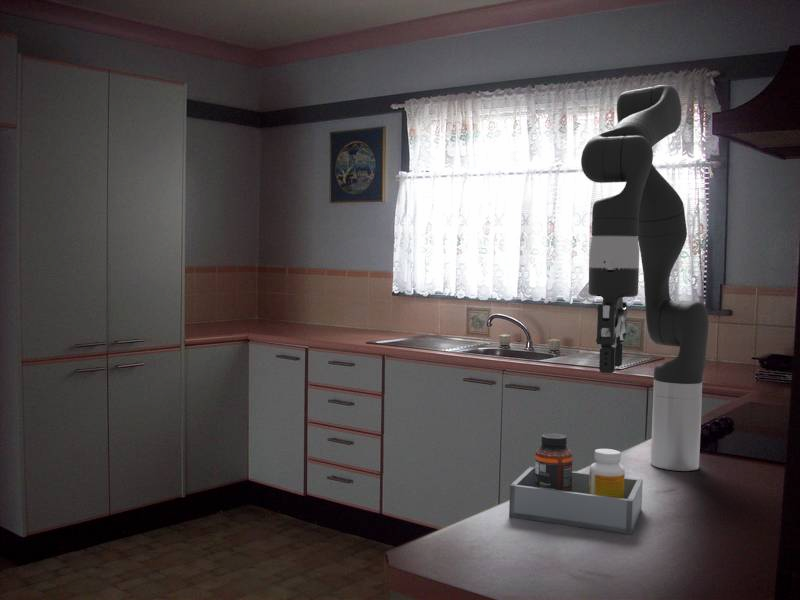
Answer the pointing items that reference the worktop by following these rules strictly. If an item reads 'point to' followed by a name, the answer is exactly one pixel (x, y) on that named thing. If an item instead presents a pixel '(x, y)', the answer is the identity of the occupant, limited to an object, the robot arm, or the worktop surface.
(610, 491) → the supplement bottle
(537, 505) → the tote
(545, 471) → the supplement bottle
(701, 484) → the worktop surface
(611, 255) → the robot arm
